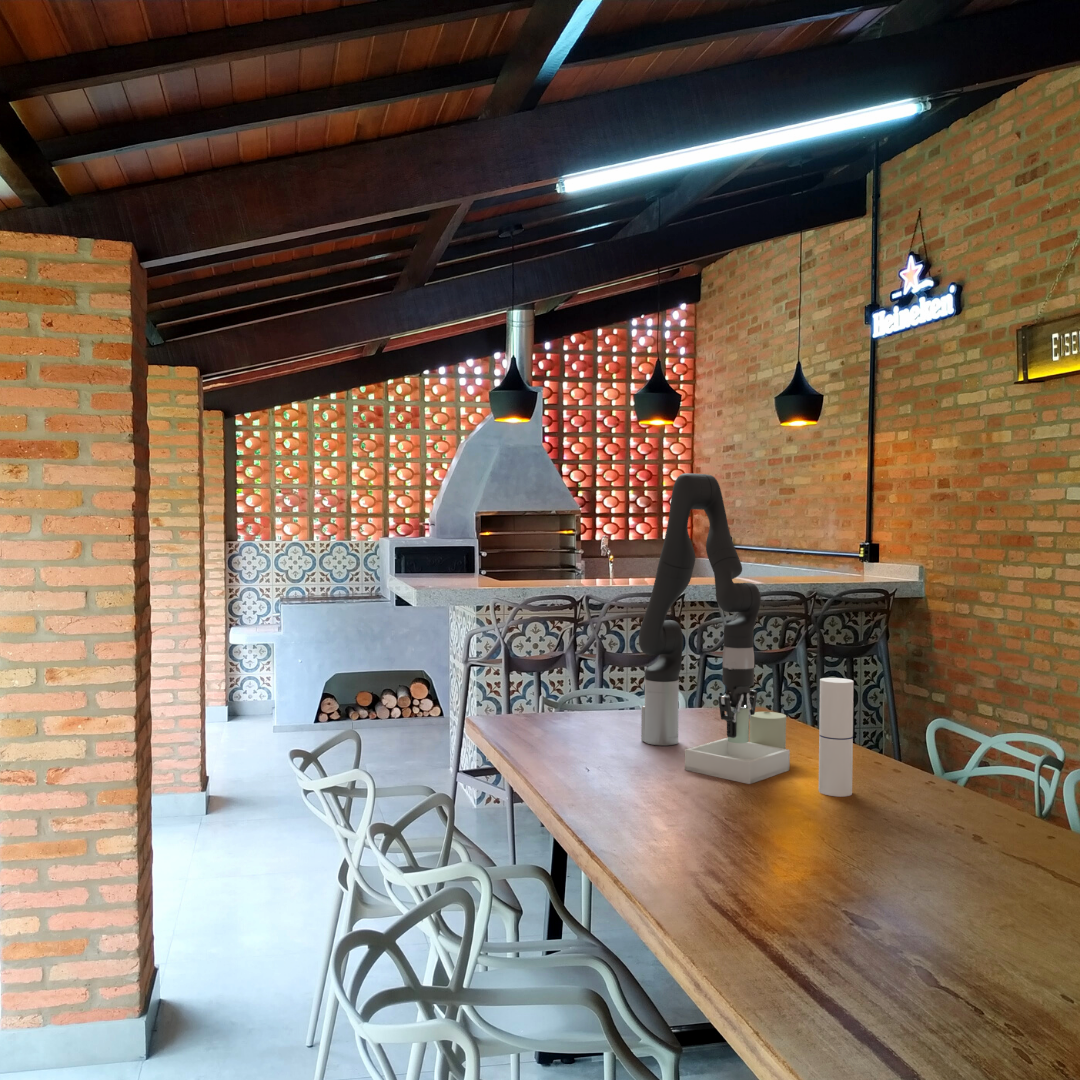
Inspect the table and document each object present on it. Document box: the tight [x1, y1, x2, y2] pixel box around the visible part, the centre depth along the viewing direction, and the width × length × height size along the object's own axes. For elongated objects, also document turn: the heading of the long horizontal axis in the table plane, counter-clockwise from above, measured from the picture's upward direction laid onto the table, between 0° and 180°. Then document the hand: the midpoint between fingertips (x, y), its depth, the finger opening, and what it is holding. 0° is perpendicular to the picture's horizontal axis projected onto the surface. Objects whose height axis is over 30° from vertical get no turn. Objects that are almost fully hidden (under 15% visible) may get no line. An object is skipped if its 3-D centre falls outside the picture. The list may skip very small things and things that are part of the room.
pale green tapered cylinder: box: [727, 707, 750, 743], centre depth 234 cm, size 5×5×8 cm
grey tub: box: [684, 737, 791, 785], centre depth 234 cm, size 18×18×5 cm
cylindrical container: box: [818, 677, 854, 798], centre depth 215 cm, size 7×7×25 cm
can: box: [749, 711, 787, 749], centre depth 244 cm, size 9×9×12 cm
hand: (737, 735), depth 234 cm, fingers closed on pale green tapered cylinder, 5 cm apart
